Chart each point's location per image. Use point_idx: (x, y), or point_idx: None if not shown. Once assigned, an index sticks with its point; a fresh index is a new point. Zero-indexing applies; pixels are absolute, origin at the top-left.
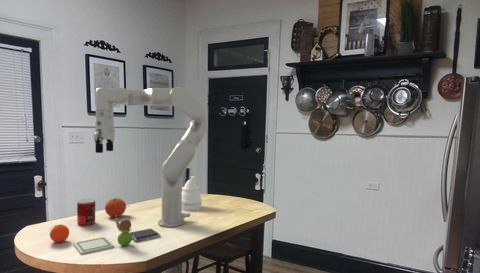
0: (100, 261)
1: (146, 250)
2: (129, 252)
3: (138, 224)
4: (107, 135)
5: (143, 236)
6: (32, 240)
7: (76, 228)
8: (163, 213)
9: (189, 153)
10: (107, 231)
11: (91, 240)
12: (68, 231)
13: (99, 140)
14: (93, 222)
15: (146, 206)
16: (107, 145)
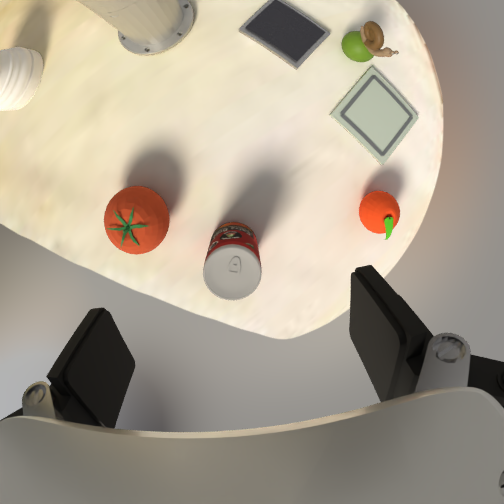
0: (426, 68)
1: (359, 4)
2: None
3: (191, 95)
4: (419, 495)
5: (309, 21)
6: None
7: (278, 238)
8: (172, 16)
9: None
10: (277, 141)
11: (362, 132)
12: (377, 193)
13: (481, 378)
14: (232, 222)
15: (39, 198)
16: (112, 398)
